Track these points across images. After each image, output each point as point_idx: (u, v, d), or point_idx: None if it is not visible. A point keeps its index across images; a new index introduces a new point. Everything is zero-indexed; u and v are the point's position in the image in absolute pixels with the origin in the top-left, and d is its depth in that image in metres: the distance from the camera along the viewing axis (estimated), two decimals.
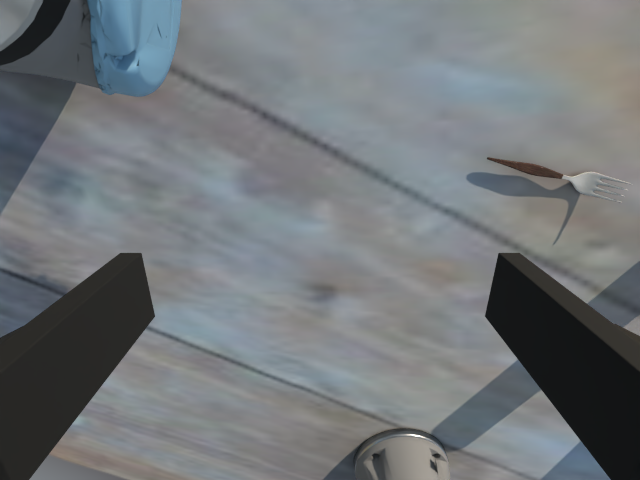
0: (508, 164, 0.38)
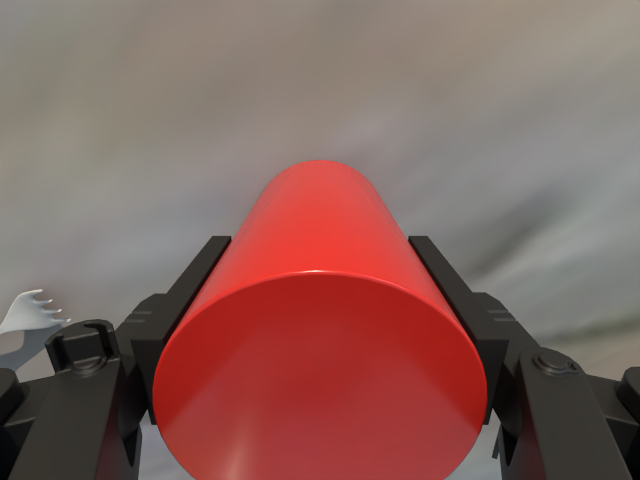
0: None
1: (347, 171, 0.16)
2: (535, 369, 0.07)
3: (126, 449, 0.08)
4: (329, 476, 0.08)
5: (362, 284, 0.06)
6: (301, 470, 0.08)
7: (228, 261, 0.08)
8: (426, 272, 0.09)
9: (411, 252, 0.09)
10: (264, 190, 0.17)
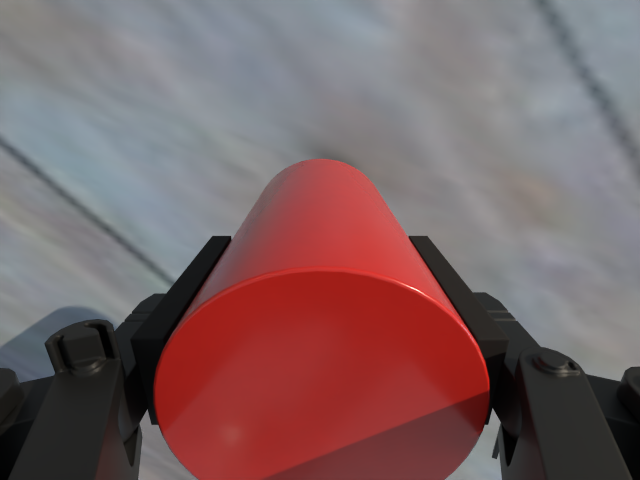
0: None
1: (348, 170, 0.16)
2: (535, 369, 0.07)
3: (126, 449, 0.08)
4: (331, 475, 0.08)
5: (364, 281, 0.06)
6: (302, 468, 0.08)
7: (229, 259, 0.08)
8: (428, 270, 0.09)
9: (413, 250, 0.09)
10: (265, 189, 0.17)
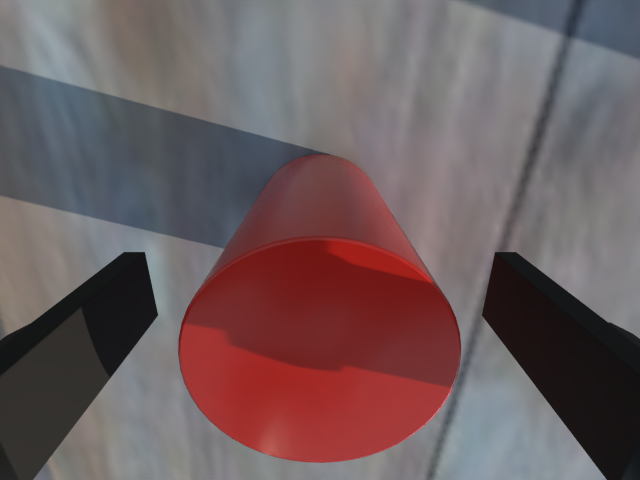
0: None
1: (345, 164, 0.17)
2: None
3: None
4: (327, 420, 0.09)
5: (354, 248, 0.07)
6: (304, 415, 0.09)
7: (241, 236, 0.09)
8: (412, 246, 0.10)
9: (399, 230, 0.11)
10: (268, 182, 0.18)
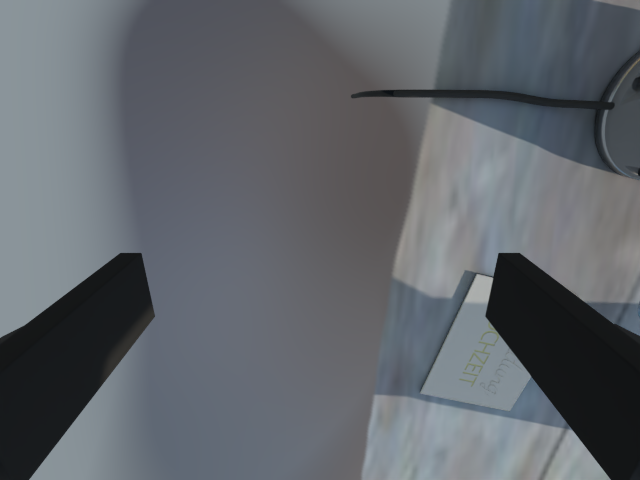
0: None
1: None
2: None
3: None
4: None
5: None
6: None
7: None
8: None
9: None
10: None
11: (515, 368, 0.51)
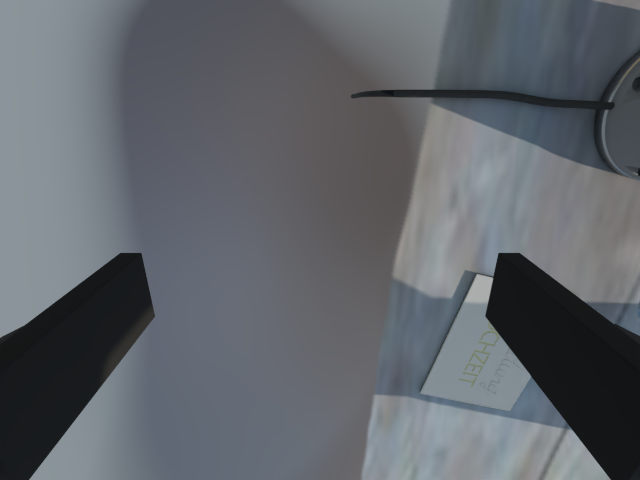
0: None
1: None
2: None
3: None
4: None
5: None
6: None
7: None
8: None
9: None
10: None
11: (515, 368, 0.51)
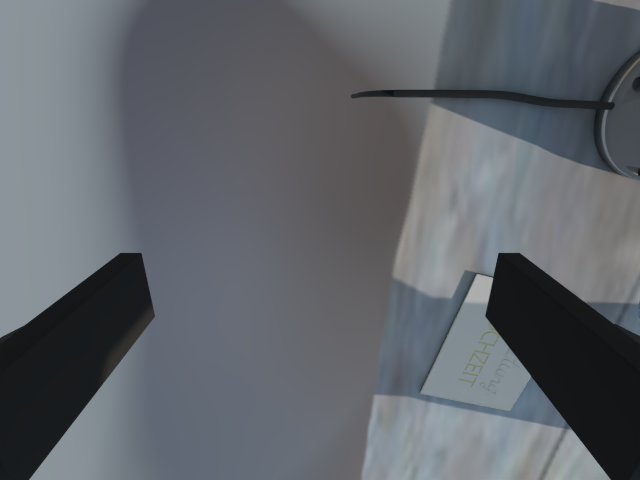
0: None
1: None
2: None
3: None
4: None
5: None
6: None
7: None
8: None
9: None
10: None
11: (515, 368, 0.51)
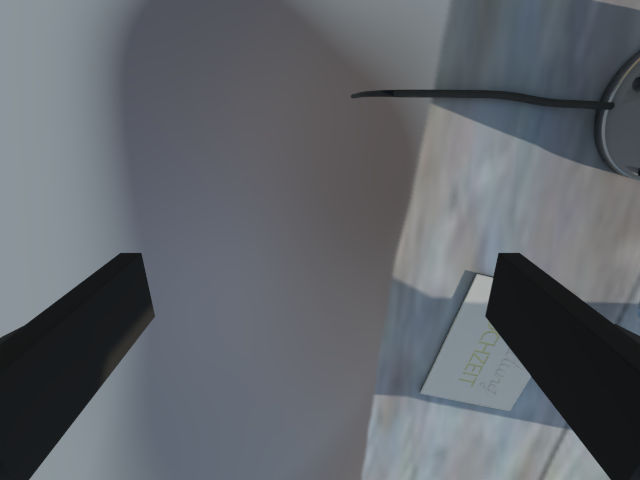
0: None
1: None
2: None
3: None
4: None
5: None
6: None
7: None
8: None
9: None
10: None
11: (515, 368, 0.51)
